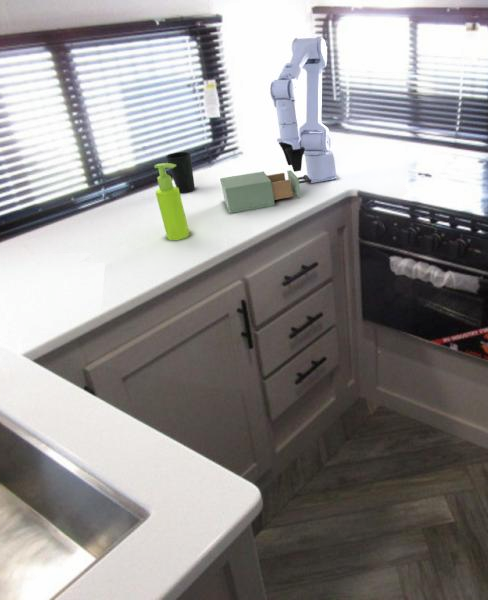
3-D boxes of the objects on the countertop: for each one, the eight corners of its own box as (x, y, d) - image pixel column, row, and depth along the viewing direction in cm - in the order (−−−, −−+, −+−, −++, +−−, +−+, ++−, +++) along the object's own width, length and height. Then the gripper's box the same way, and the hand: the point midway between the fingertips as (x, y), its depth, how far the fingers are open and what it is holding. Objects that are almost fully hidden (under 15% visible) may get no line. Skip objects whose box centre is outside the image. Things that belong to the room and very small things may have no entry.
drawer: (306, 185, 187) (304, 168, 184) (315, 194, 179) (313, 176, 176) (255, 194, 182) (251, 176, 179) (261, 204, 174) (258, 185, 171)
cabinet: (267, 194, 184) (263, 171, 180) (274, 205, 175) (271, 181, 171) (224, 201, 180) (219, 178, 176) (230, 213, 171) (225, 188, 167)
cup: (201, 186, 196) (193, 151, 190) (192, 193, 189) (184, 157, 183) (180, 187, 197) (171, 152, 191) (170, 194, 190) (161, 158, 184)
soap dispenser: (186, 240, 154) (168, 167, 144) (163, 239, 155) (144, 167, 145) (196, 232, 159) (180, 160, 149) (174, 231, 160) (156, 160, 150)
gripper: (270, 119, 174) (276, 164, 180) (280, 129, 162) (286, 175, 168) (292, 116, 176) (298, 160, 182) (304, 125, 164) (310, 172, 170)
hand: (294, 167), depth 176 cm, fingers open, 7 cm apart
